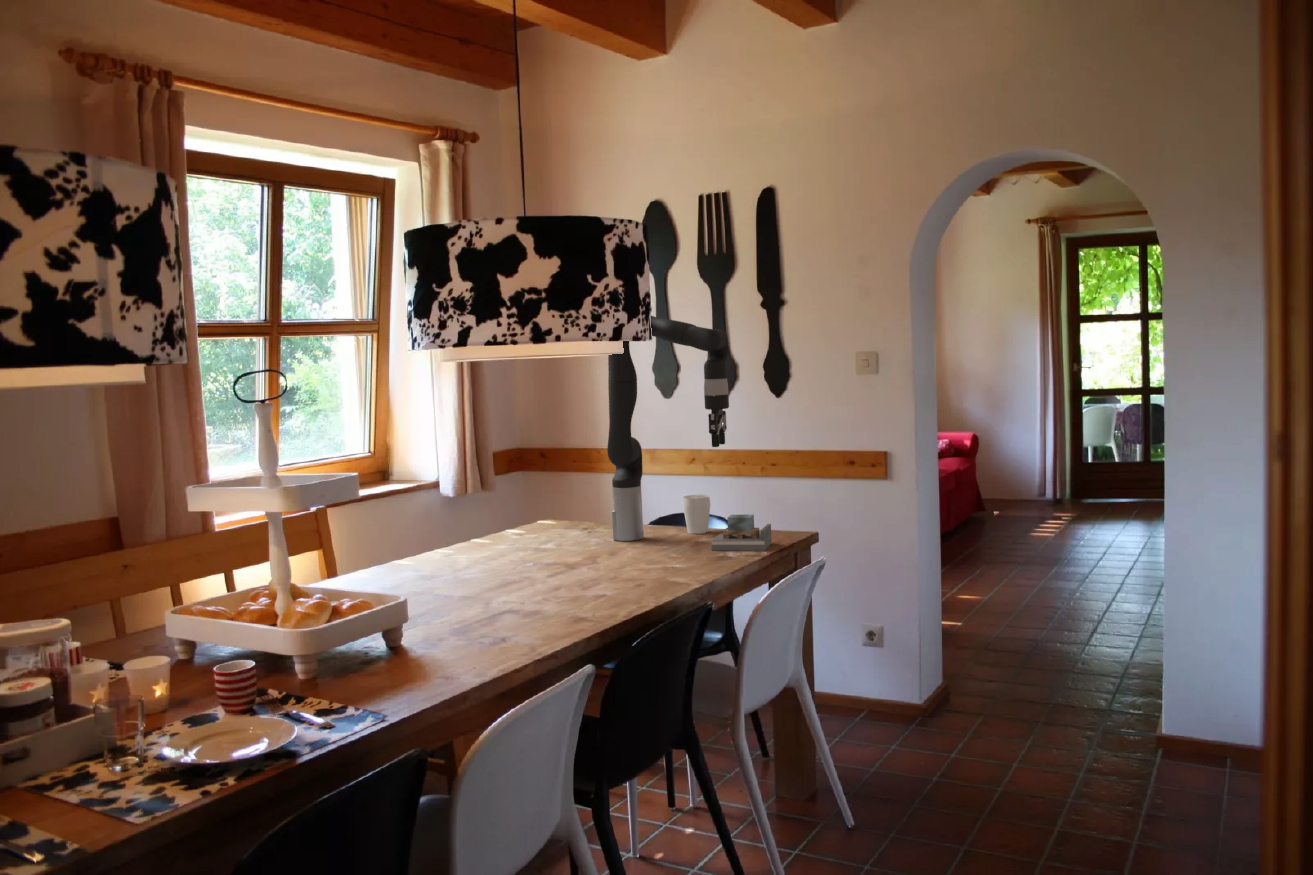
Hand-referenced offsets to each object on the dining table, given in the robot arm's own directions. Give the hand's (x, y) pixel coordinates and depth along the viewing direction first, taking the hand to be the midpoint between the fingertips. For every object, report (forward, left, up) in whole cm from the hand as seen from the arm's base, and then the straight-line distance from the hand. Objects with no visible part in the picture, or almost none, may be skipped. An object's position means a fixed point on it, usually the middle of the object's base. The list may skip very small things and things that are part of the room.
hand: (718, 445), depth 329 cm
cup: (-12, +16, -30) cm, 36 cm away
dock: (+8, -10, -30) cm, 33 cm away
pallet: (+8, -9, -27) cm, 30 cm away
